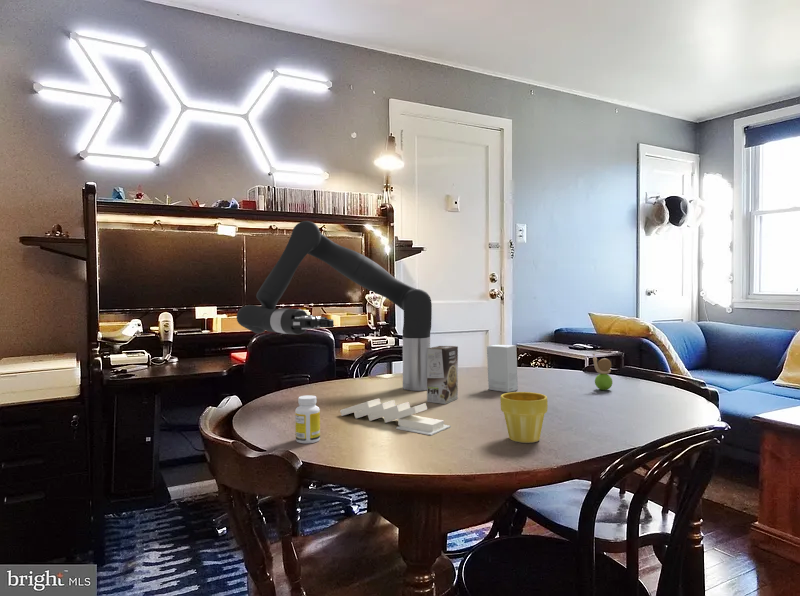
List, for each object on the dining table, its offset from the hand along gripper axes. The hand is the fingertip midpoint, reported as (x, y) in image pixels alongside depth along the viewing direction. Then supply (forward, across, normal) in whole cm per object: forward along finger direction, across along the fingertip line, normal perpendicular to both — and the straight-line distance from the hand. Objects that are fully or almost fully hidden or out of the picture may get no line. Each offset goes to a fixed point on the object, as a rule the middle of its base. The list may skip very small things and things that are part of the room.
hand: (331, 323), depth 151 cm
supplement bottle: (+17, -26, +24) cm, 39 cm away
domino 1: (+8, -2, +23) cm, 24 cm away
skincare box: (+27, +52, +24) cm, 63 cm away
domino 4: (+22, -2, +23) cm, 32 cm away
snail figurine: (+54, +71, +24) cm, 92 cm away
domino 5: (+26, -2, +23) cm, 35 cm away
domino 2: (+12, -2, +23) cm, 26 cm away
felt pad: (+32, -2, +24) cm, 40 cm away
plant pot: (+56, +3, +24) cm, 61 cm away
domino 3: (+17, -2, +23) cm, 29 cm away
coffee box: (+20, +27, +24) cm, 41 cm away
